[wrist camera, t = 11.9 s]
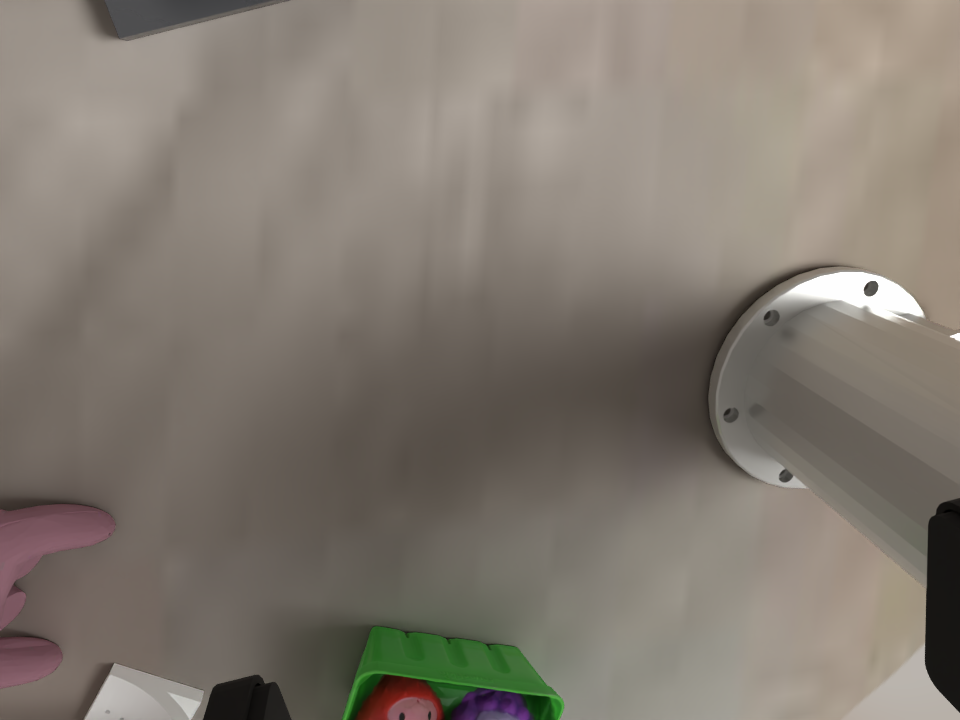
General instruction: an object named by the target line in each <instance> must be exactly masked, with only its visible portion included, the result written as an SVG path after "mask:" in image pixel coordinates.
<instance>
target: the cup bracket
mask: <svg viewBox="0 0 960 720" xmlns="http://www.w3.org/2000/svg"><path fill="white" fill-rule="evenodd" d="M285 1H289V0H105V3H106V6H107V8H108V11H109V13H110V16H111V18H112V21H113V23H114V26H115V28H116V31H117V34H118V36H119V39H123V40H127V41H129V40H133V39H137V38H141V37H145V36H149V35H153V34H157V33H161V32H165V31H169V30H173V29H177V28H181V27H185V26H189V25H193V24H197V23H201V22H205V21H209V20H213V19H217V18H221V17H225V16H229V15H233V14H237V13H241V12H245V11H249V10H253V9H257V8H261V7H265V6H269V5H273V4H277V3H281V2H285Z"/></svg>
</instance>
